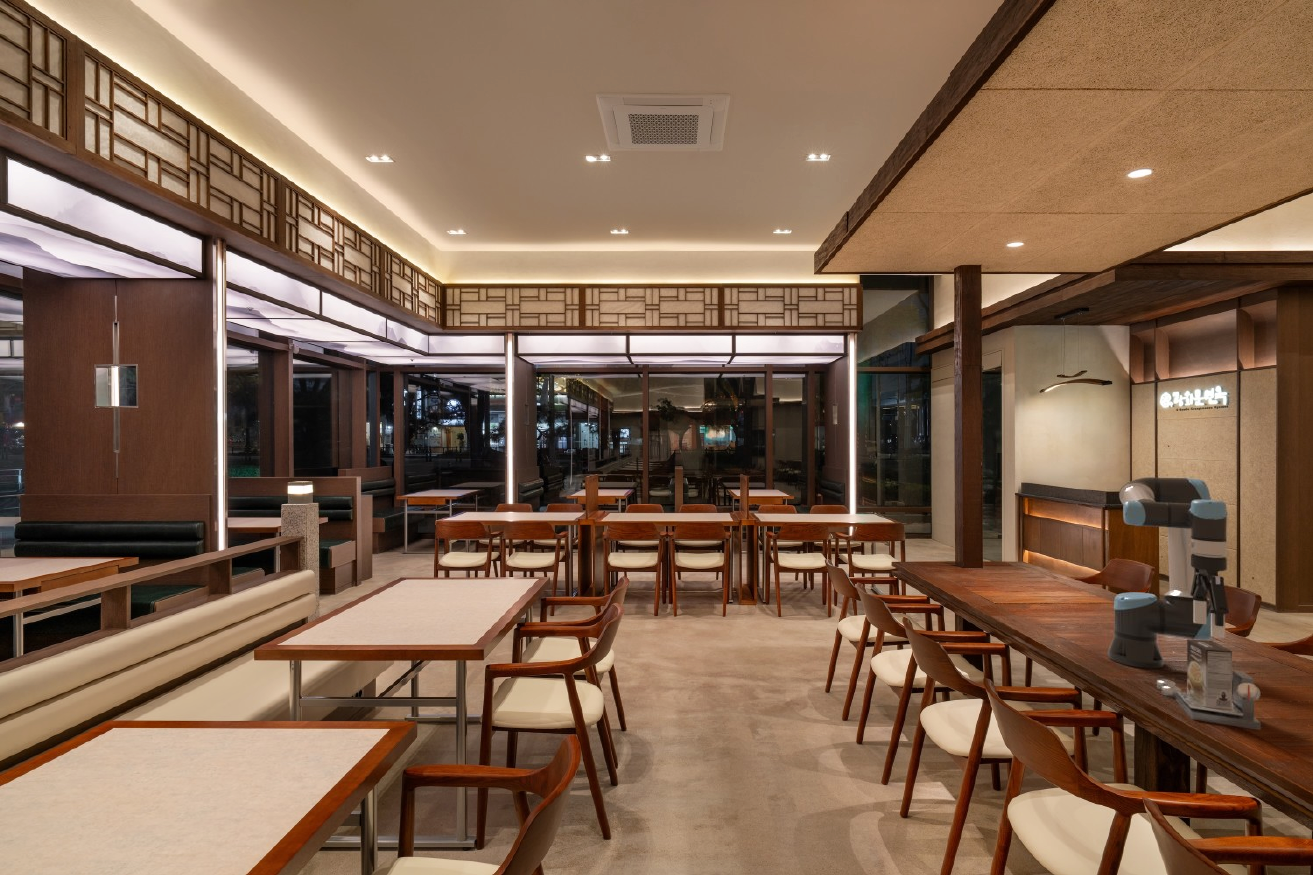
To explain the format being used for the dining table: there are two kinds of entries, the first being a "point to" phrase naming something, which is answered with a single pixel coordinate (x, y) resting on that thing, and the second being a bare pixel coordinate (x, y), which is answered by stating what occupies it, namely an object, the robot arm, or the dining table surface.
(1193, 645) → the coffee box
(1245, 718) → the scale
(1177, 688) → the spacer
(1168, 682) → the cylinder
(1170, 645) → the dining table surface
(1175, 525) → the robot arm
